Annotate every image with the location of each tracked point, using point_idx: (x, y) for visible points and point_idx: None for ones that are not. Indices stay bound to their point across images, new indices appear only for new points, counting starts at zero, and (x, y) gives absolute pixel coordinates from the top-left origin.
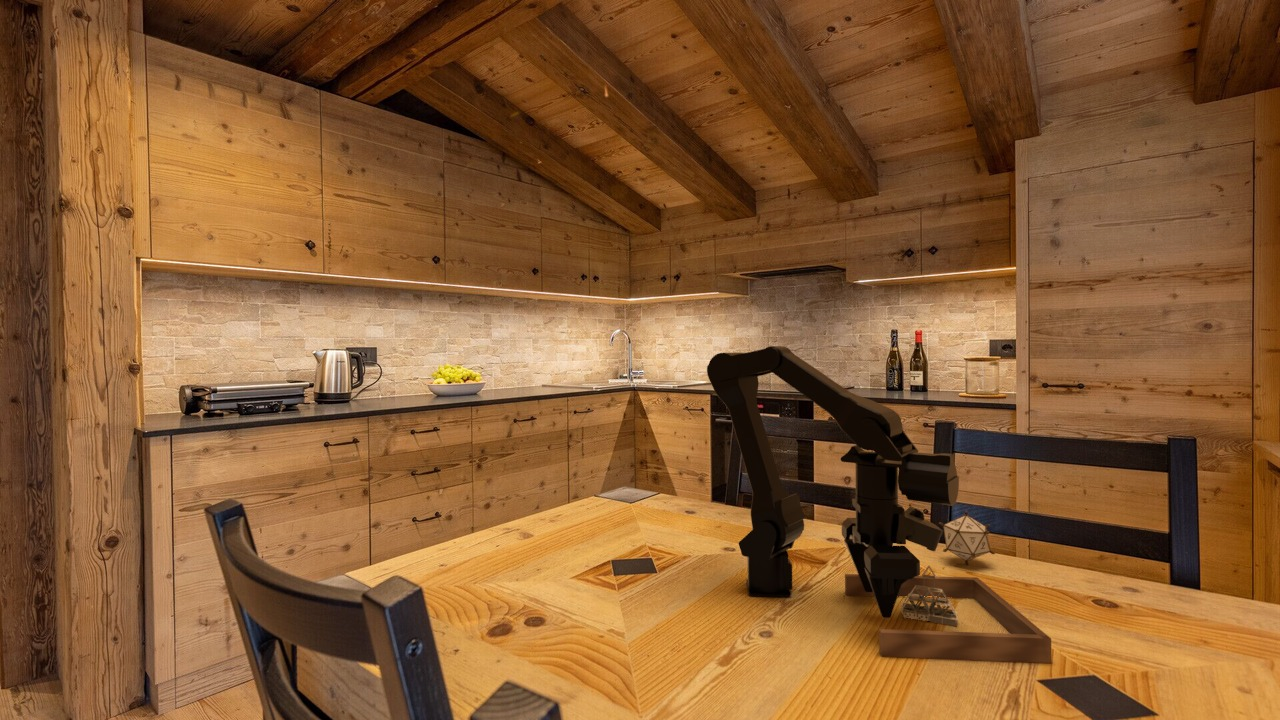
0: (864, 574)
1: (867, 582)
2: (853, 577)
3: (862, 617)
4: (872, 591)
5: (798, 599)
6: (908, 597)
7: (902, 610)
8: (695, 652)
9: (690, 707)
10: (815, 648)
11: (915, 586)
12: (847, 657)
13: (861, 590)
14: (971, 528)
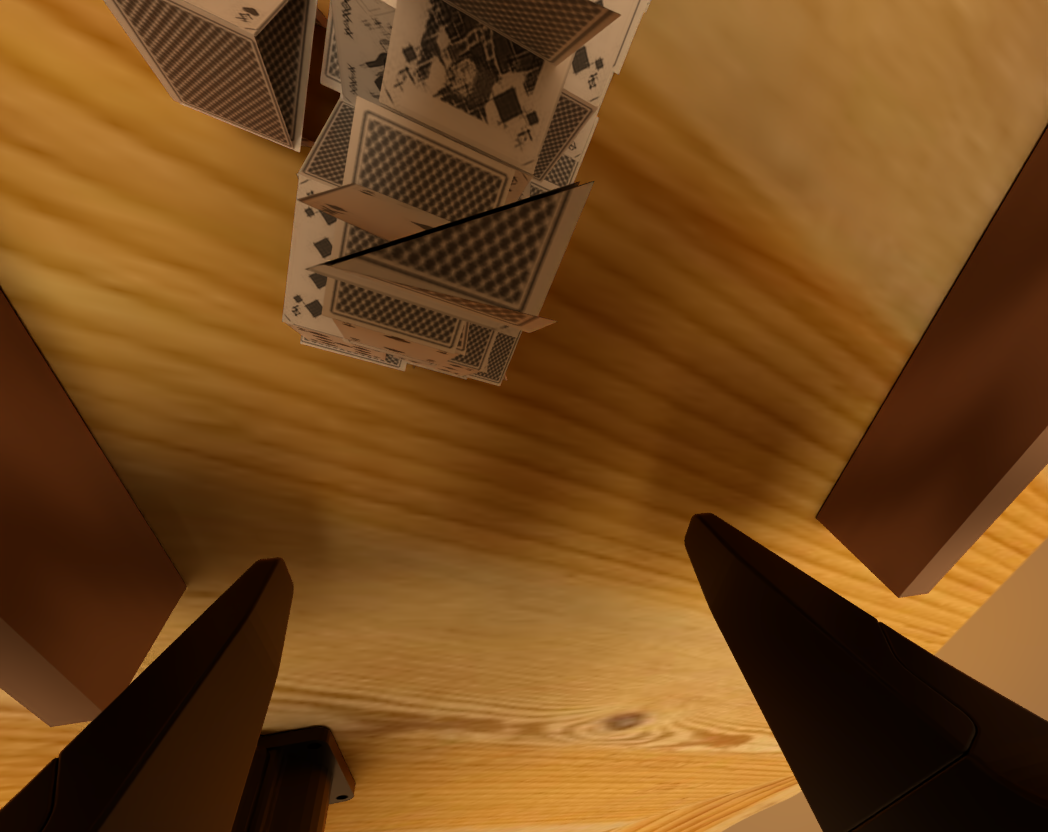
0: (237, 735)
1: (267, 648)
2: (85, 681)
3: (498, 539)
4: (277, 558)
5: (335, 707)
6: (424, 362)
7: (476, 378)
8: (688, 770)
9: None
10: None
11: (375, 326)
12: None
13: (123, 552)
14: None
